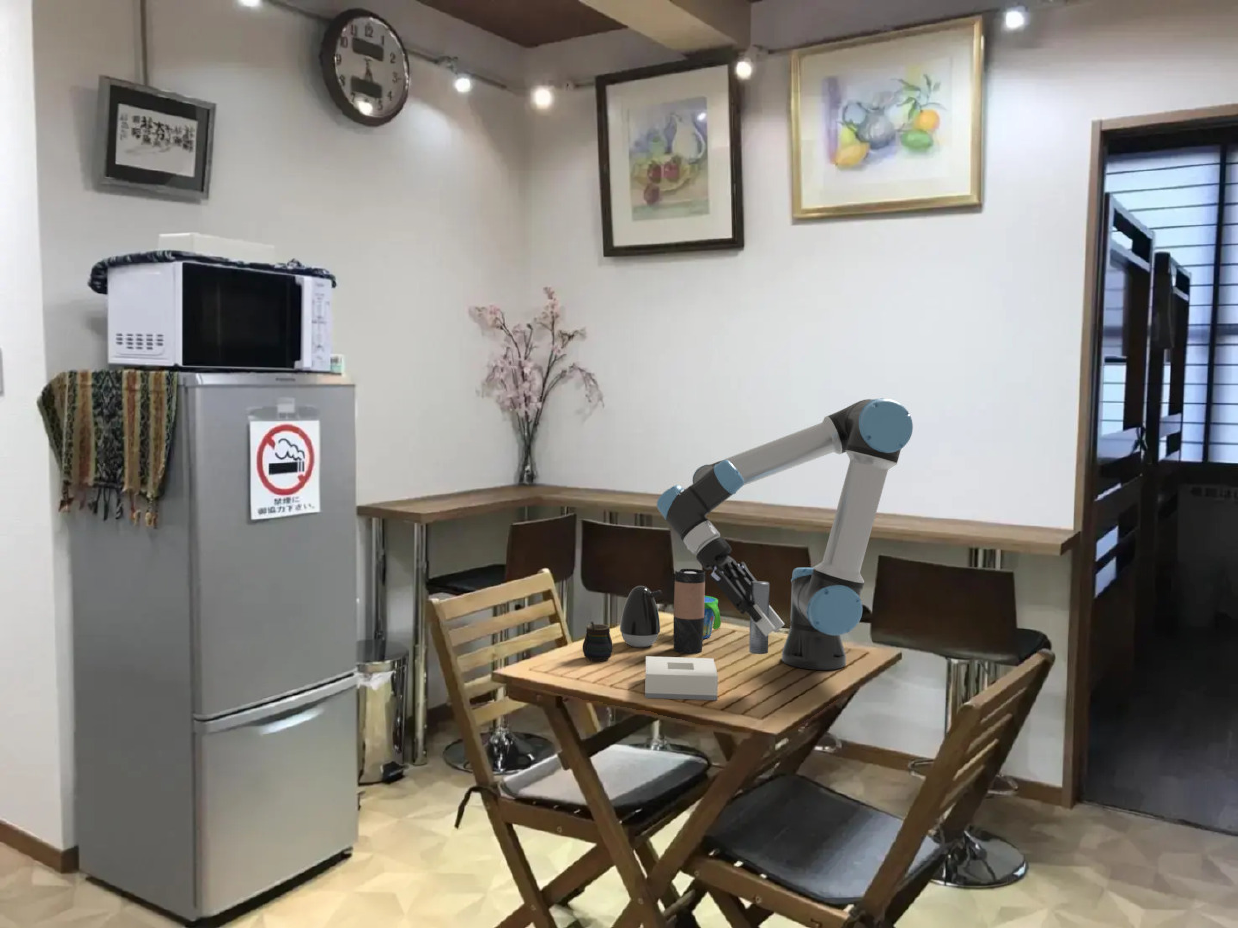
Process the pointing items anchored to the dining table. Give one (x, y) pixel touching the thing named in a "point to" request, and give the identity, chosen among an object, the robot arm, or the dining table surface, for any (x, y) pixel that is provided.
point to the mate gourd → (597, 642)
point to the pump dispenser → (640, 618)
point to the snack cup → (710, 616)
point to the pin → (761, 598)
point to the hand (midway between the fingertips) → (775, 630)
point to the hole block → (681, 678)
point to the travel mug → (689, 610)
